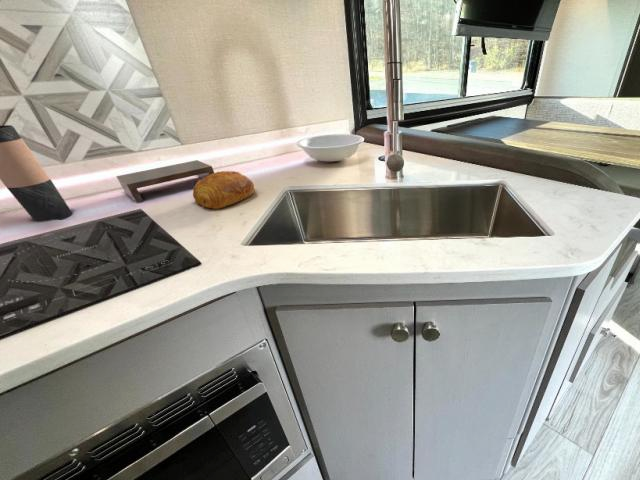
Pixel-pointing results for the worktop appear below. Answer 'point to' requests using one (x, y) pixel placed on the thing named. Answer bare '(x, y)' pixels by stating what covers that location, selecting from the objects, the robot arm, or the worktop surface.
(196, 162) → the shelf
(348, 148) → the soup bowl
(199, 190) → the croissant
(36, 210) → the travel mug
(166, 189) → the worktop surface
